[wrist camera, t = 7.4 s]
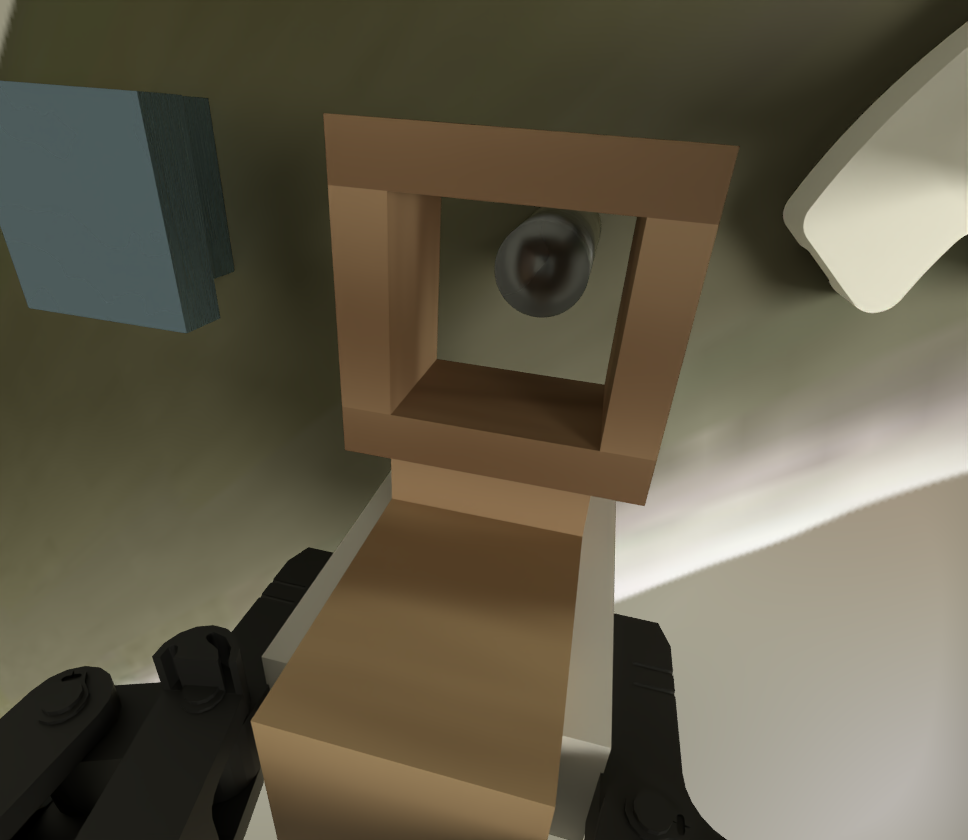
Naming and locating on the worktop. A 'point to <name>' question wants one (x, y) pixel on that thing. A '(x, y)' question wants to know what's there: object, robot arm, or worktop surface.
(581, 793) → the robot arm
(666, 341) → the square loop handle
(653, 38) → the worktop surface
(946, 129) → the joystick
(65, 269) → the bracket
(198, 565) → the worktop surface
